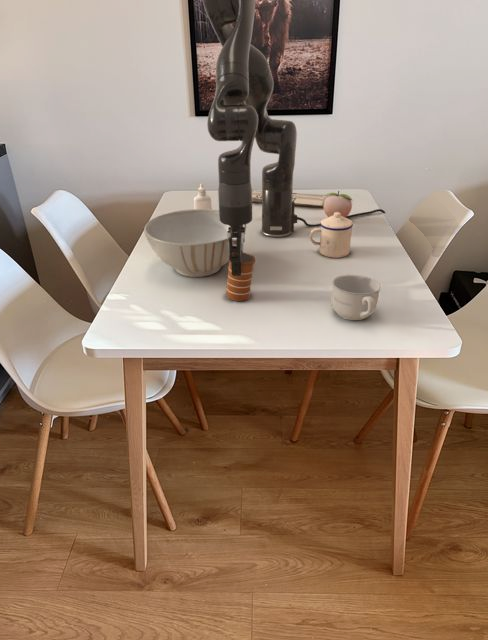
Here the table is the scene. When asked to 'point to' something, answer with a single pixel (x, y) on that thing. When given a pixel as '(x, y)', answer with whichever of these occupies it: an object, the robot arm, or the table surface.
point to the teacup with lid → (334, 236)
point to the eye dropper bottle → (202, 199)
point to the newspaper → (296, 198)
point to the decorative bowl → (190, 241)
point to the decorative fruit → (337, 204)
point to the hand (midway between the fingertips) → (237, 268)
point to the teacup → (354, 296)
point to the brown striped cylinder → (240, 279)
